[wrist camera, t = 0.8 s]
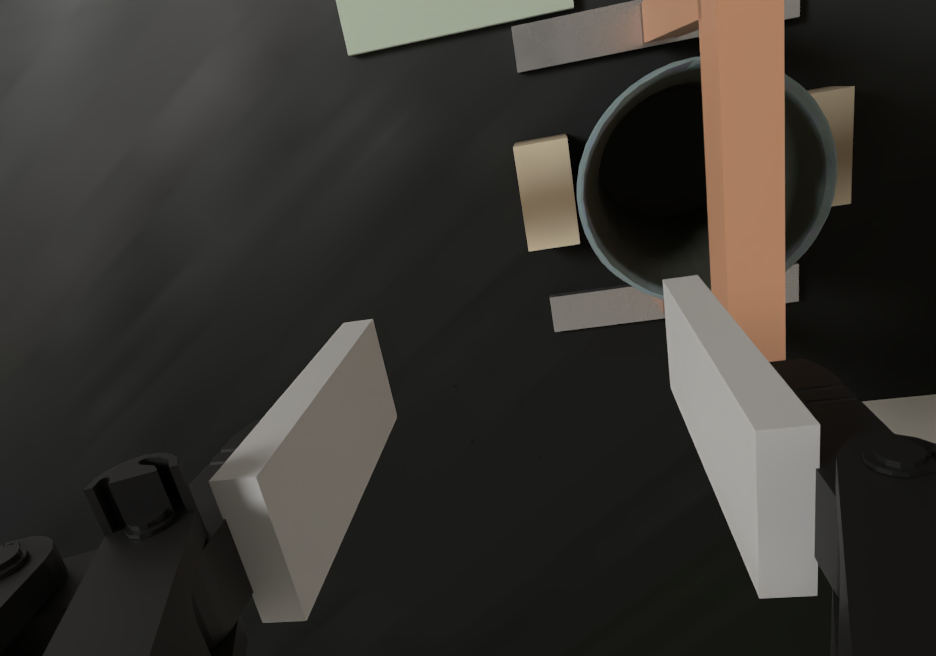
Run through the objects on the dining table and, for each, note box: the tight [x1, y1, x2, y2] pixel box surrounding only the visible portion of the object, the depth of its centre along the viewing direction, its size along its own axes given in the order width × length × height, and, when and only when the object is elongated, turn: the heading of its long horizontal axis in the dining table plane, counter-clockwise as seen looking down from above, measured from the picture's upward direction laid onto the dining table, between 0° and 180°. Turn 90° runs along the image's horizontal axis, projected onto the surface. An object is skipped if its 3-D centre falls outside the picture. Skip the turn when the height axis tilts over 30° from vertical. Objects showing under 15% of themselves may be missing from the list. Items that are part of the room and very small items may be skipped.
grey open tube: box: [577, 56, 838, 300], centre depth 31 cm, size 10×10×12 cm
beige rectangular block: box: [513, 86, 855, 251], centre depth 35 cm, size 6×18×3 cm, turn 100°
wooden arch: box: [642, 0, 786, 362], centre depth 29 cm, size 18×2×15 cm, turn 10°
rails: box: [511, 0, 800, 332], centre depth 36 cm, size 18×15×1 cm
